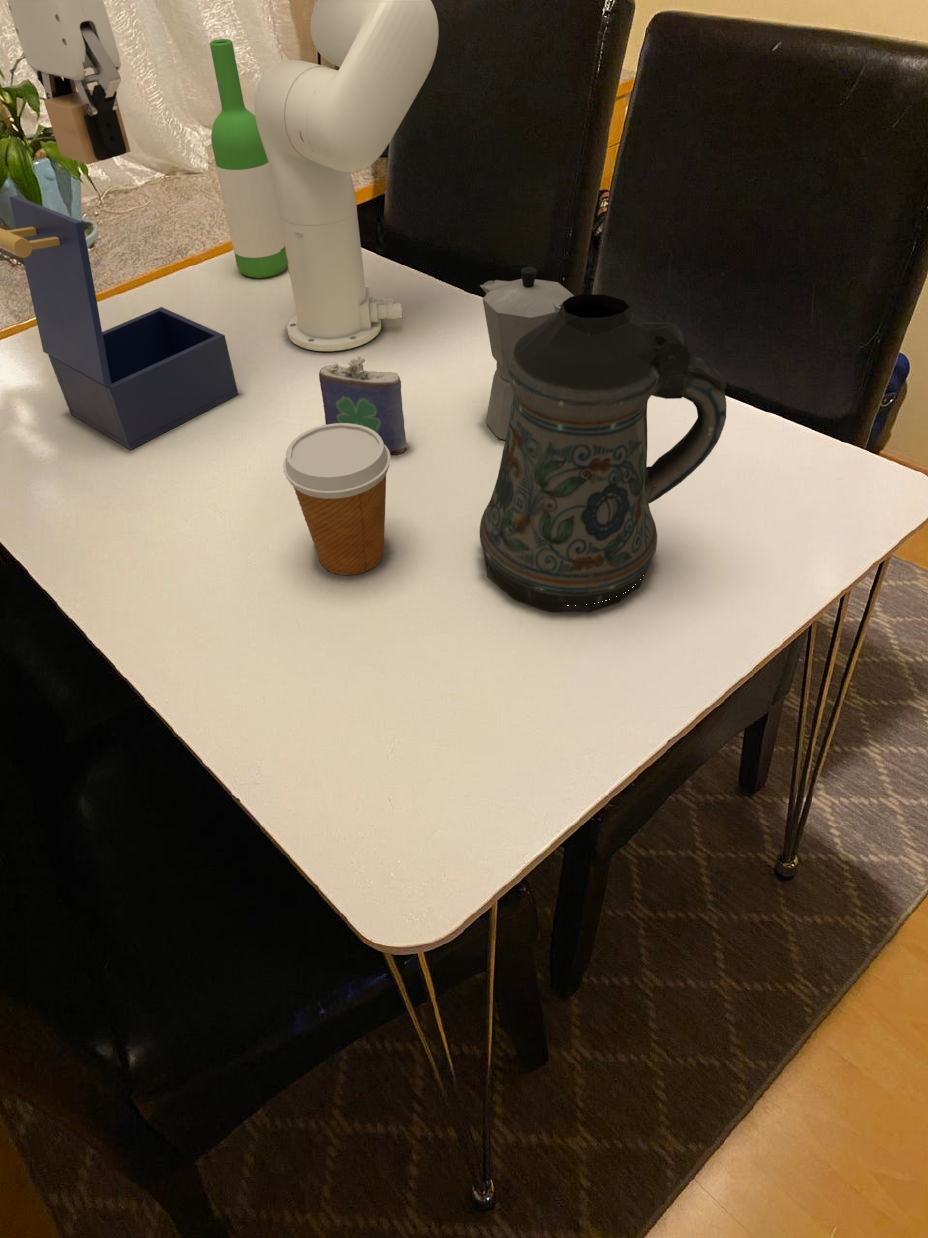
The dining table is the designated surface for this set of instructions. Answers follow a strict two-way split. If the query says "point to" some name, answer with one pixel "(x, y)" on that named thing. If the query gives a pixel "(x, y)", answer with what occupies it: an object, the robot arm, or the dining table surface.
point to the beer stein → (590, 454)
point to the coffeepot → (514, 330)
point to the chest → (151, 378)
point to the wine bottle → (245, 175)
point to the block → (74, 127)
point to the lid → (59, 285)
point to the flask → (365, 401)
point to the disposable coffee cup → (341, 493)
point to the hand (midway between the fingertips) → (95, 149)
